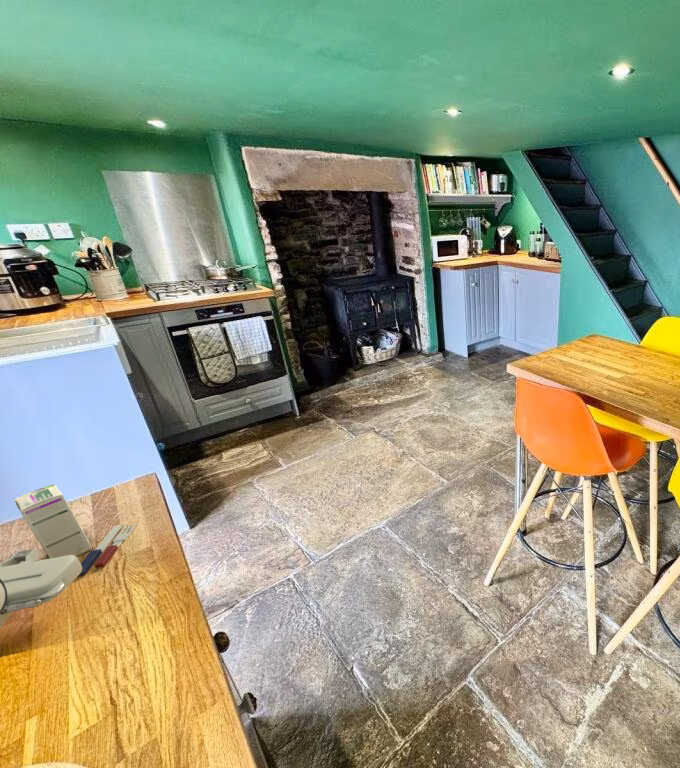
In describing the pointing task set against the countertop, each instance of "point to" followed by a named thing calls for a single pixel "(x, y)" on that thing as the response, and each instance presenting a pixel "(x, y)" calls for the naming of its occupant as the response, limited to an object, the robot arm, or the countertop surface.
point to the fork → (114, 546)
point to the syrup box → (53, 522)
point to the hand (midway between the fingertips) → (29, 552)
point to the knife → (98, 550)
